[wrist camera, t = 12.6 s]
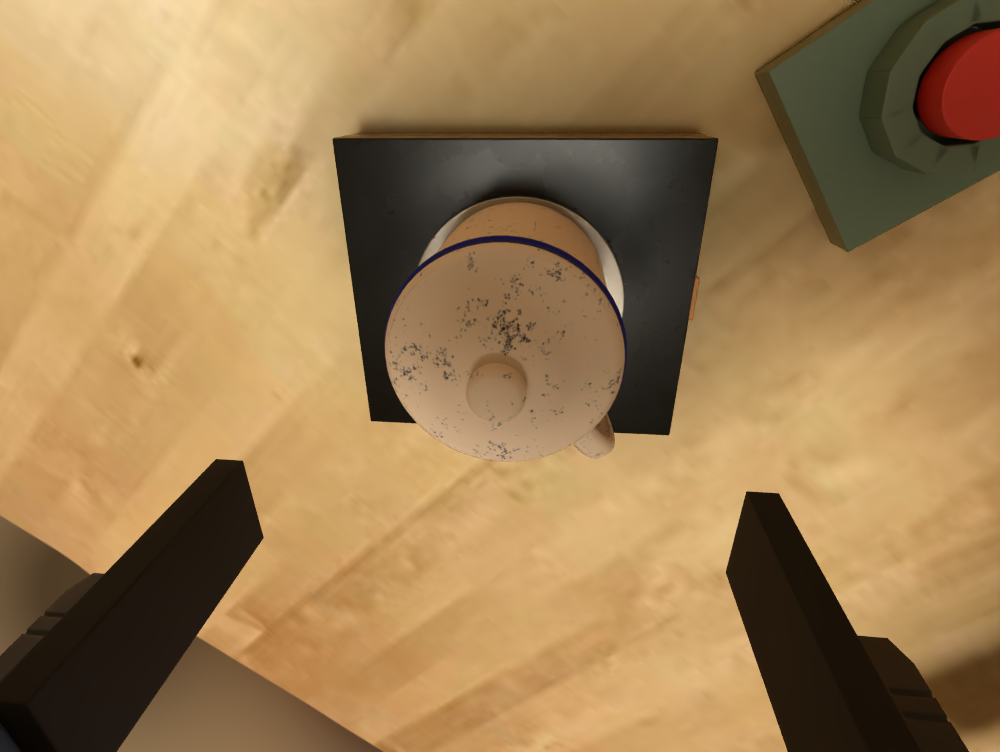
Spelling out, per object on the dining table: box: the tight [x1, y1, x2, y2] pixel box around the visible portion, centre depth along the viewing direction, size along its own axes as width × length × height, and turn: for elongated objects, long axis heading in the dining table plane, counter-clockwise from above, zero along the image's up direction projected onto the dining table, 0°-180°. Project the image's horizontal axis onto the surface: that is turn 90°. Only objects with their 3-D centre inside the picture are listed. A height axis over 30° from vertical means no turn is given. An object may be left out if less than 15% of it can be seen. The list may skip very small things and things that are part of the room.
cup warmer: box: [333, 133, 718, 435], centre depth 30 cm, size 18×16×5 cm
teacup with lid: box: [384, 202, 627, 461], centre depth 23 cm, size 12×9×12 cm
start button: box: [917, 28, 1000, 140], centre depth 22 cm, size 4×4×2 cm
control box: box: [755, 0, 1000, 252], centre depth 24 cm, size 12×10×4 cm
